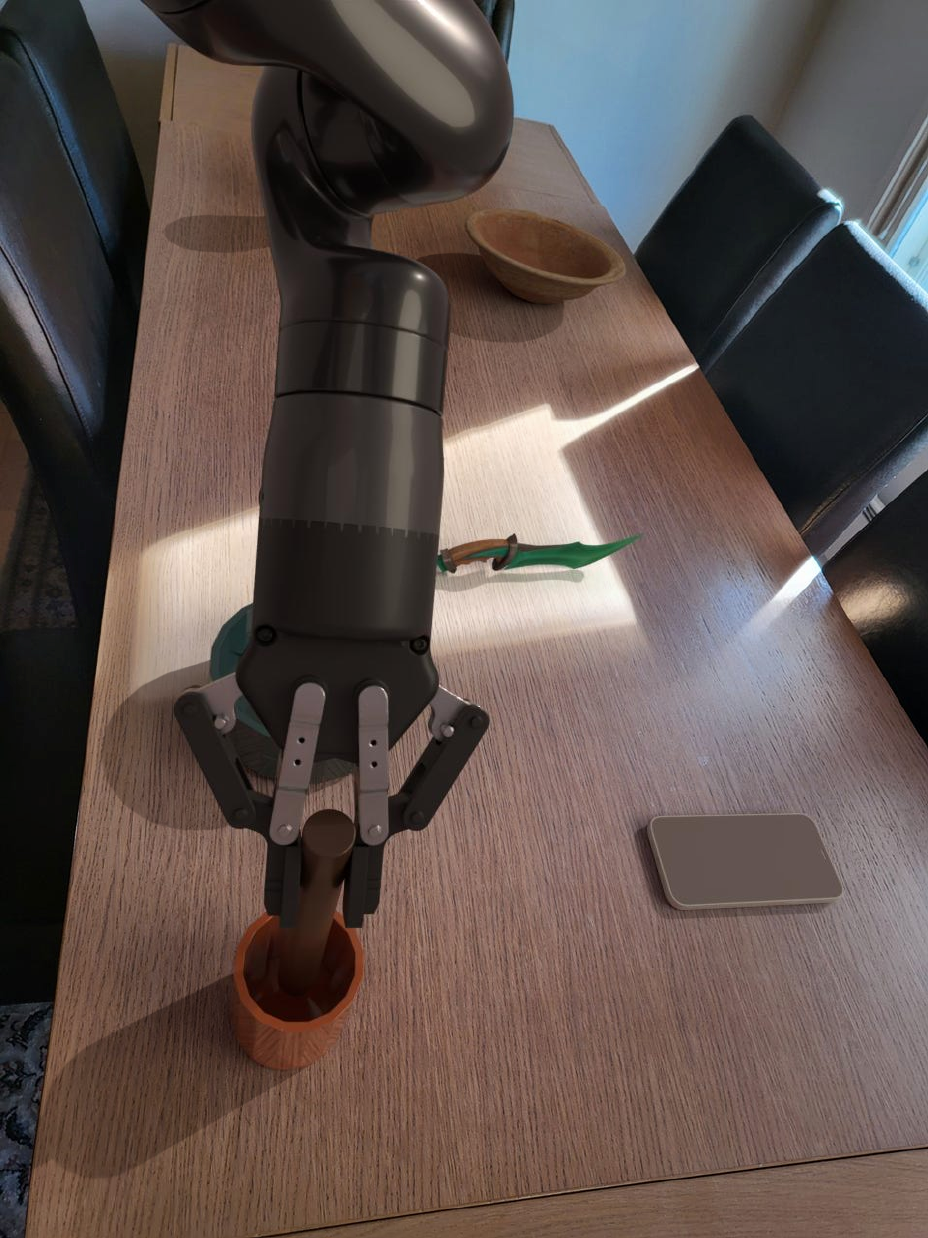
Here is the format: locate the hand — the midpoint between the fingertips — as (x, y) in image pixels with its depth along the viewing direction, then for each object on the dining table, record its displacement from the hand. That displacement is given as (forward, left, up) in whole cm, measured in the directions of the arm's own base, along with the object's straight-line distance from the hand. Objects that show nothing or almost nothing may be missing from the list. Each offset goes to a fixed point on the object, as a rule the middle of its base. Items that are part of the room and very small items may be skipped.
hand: (320, 919), depth 36 cm
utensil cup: (+1, +2, -20) cm, 20 cm away
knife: (+36, +32, -20) cm, 52 cm away
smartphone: (+37, -1, -20) cm, 42 cm away
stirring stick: (+1, +2, -14) cm, 14 cm away
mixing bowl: (+9, +23, -20) cm, 31 cm away
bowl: (+65, +84, -20) cm, 108 cm away
